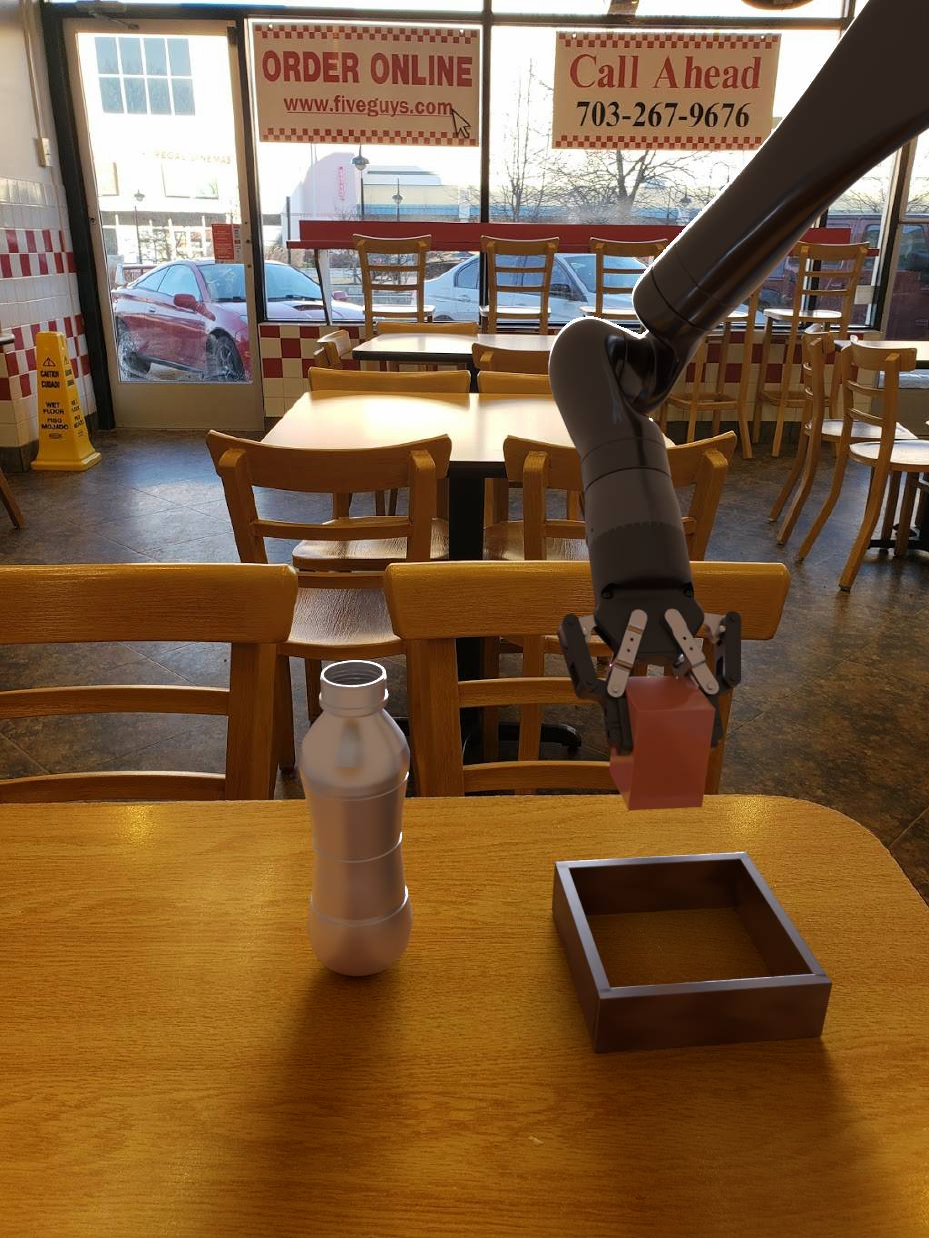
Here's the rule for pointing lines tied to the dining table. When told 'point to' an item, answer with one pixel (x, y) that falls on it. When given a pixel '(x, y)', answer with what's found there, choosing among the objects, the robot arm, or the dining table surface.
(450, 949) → the dining table surface
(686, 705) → the red rectangular block
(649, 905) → the dark brown wooden tray
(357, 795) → the plastic bottle
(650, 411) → the robot arm
